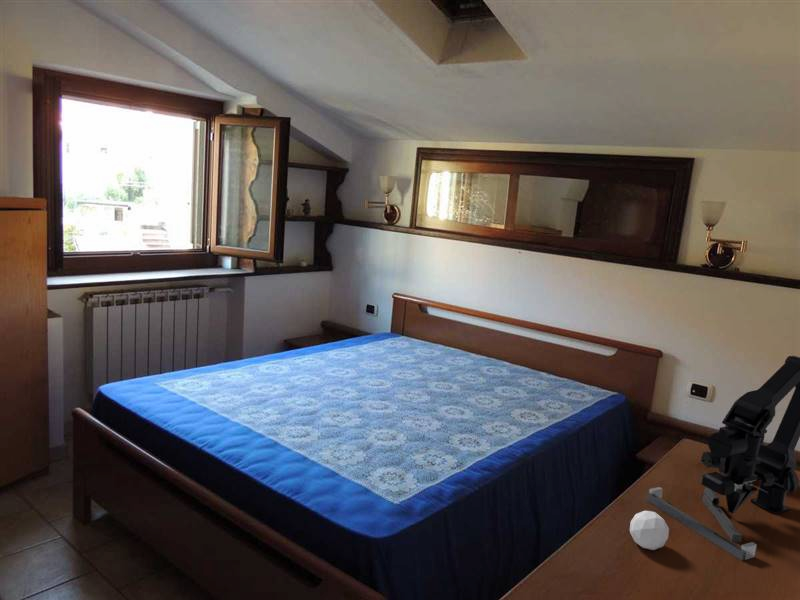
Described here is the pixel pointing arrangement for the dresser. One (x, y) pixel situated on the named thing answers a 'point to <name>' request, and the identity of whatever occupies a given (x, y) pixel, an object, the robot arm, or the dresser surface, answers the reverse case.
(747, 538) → the dresser surface
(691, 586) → the dresser surface
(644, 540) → the geometric ball
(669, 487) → the dresser surface
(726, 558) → the dresser surface
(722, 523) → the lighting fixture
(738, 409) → the robot arm
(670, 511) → the end cap rail
